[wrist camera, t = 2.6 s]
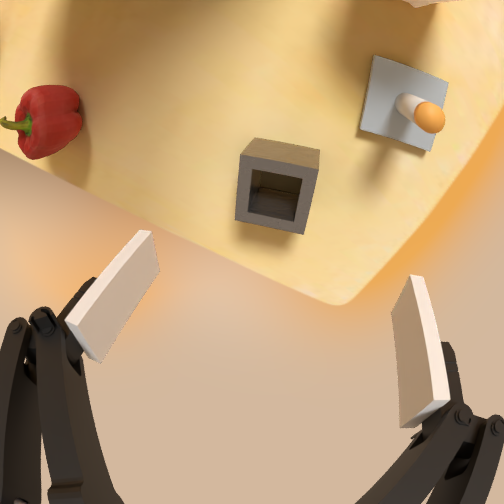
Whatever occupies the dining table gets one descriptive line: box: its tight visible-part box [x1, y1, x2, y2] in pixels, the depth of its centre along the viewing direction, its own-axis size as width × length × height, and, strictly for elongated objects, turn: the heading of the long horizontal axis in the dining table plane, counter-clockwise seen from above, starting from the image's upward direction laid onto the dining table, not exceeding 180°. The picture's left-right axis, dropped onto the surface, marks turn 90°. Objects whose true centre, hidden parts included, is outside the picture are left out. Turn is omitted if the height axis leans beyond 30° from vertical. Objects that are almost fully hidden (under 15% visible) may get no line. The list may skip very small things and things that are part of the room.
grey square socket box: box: [235, 138, 320, 235], centre depth 29 cm, size 7×7×6 cm
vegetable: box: [0, 85, 82, 160], centre depth 27 cm, size 11×10×10 cm
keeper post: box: [359, 55, 448, 152], centre depth 20 cm, size 8×8×8 cm
